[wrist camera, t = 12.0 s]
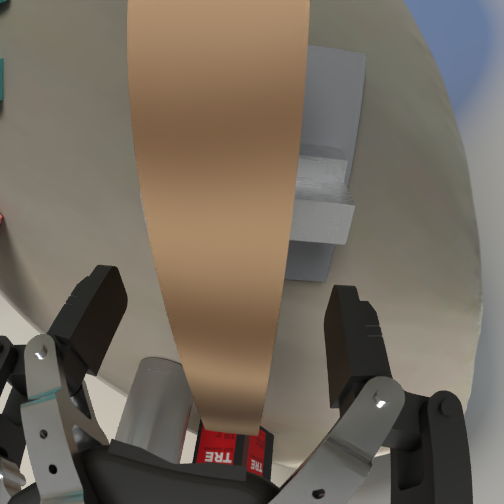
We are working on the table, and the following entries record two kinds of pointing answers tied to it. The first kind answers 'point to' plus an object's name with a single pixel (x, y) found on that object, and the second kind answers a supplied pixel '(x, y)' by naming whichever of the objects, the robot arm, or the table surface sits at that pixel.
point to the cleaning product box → (236, 450)
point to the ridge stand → (324, 161)
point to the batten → (219, 182)
